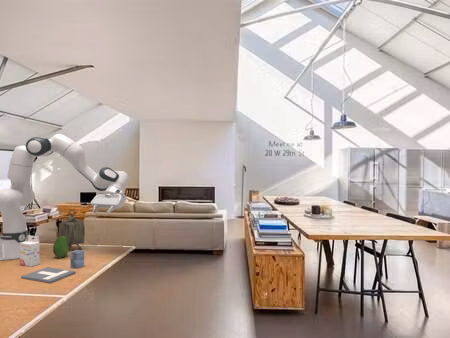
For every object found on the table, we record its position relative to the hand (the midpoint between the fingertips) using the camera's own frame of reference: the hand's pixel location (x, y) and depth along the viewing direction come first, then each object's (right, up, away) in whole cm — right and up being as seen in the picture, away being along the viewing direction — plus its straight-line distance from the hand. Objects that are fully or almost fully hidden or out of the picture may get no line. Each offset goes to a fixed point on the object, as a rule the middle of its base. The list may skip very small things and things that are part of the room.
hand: (100, 212), depth 175 cm
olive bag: (-26, -26, +18) cm, 41 cm away
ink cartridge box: (-32, -26, -13) cm, 43 cm away
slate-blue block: (-6, -26, -16) cm, 31 cm away
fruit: (-23, -26, +1) cm, 35 cm away
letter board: (-13, -26, -29) cm, 41 cm away
